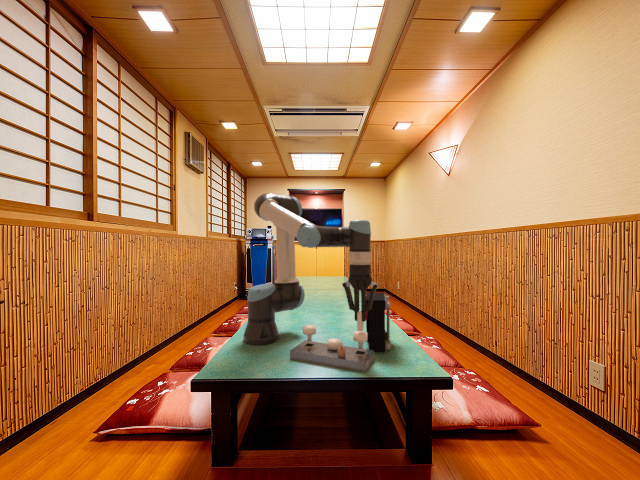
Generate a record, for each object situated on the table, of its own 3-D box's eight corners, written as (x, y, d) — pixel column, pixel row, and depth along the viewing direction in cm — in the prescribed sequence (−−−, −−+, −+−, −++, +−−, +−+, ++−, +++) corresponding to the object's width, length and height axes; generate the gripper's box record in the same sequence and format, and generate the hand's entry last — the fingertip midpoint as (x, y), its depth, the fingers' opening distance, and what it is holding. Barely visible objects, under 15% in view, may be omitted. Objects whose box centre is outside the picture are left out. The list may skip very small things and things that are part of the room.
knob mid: (325, 356, 105) (325, 341, 105) (330, 352, 110) (330, 337, 110) (338, 358, 103) (338, 343, 103) (342, 354, 108) (342, 339, 108)
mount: (290, 358, 105) (290, 350, 105) (304, 347, 116) (304, 340, 116) (365, 372, 94) (365, 363, 94) (374, 358, 105) (374, 350, 105)
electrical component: (390, 353, 110) (390, 300, 110) (363, 351, 112) (363, 299, 112) (389, 338, 127) (389, 293, 127) (365, 337, 129) (365, 292, 129)
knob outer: (351, 349, 101) (351, 334, 101) (355, 345, 106) (355, 330, 106) (365, 351, 99) (365, 335, 99) (369, 347, 104) (368, 331, 104)
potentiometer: (336, 357, 98) (336, 342, 98) (339, 354, 101) (339, 340, 101) (343, 358, 97) (343, 343, 97) (346, 355, 100) (346, 341, 100)
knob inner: (300, 342, 109) (300, 327, 109) (306, 338, 114) (306, 324, 114) (312, 343, 107) (312, 329, 107) (318, 339, 112) (318, 325, 112)
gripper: (339, 263, 102) (339, 331, 102) (376, 264, 97) (376, 335, 97) (345, 262, 109) (346, 325, 109) (380, 263, 104) (380, 329, 103)
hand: (360, 330), depth 103 cm, fingers closed
